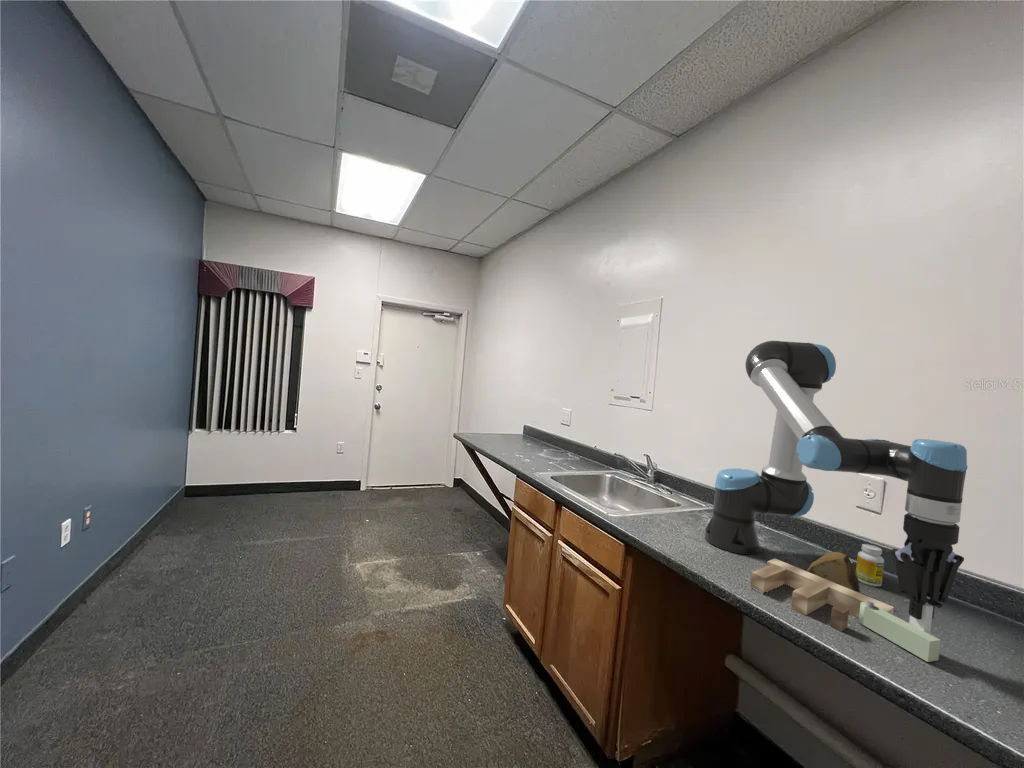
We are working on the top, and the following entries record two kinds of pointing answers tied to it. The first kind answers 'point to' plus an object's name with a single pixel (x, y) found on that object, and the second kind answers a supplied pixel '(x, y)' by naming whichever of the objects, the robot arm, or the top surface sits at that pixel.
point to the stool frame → (813, 592)
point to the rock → (836, 570)
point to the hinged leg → (900, 632)
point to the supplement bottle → (870, 565)
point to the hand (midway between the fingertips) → (919, 633)
